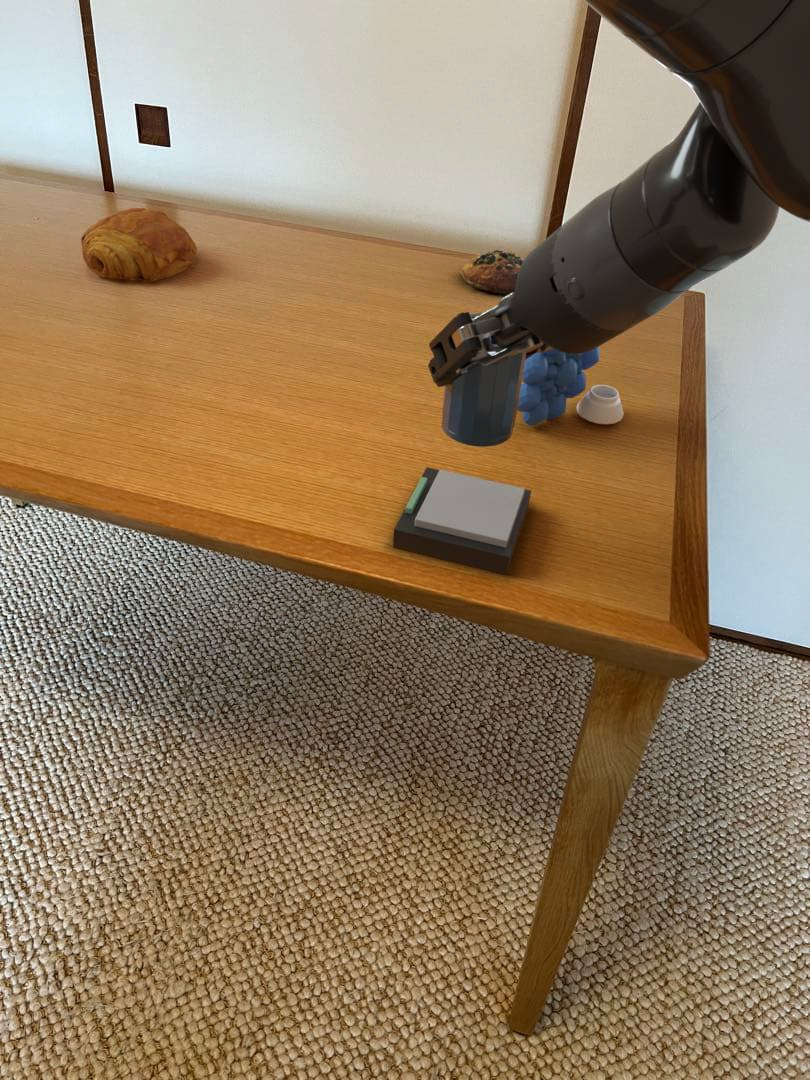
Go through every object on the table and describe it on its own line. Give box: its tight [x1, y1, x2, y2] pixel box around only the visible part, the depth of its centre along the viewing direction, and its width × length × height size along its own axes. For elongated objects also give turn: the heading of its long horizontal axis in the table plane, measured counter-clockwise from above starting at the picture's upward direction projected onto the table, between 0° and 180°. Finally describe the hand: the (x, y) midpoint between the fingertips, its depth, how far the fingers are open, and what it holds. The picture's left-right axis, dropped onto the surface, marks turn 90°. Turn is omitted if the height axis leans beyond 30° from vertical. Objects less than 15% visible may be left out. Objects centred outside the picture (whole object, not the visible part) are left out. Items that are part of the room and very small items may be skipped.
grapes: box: [517, 346, 600, 426], centre depth 85 cm, size 12×7×12 cm, turn 130°
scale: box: [392, 467, 532, 576], centre depth 72 cm, size 10×10×3 cm
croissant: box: [80, 207, 198, 283], centre depth 112 cm, size 14×16×8 cm
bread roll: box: [459, 249, 525, 296], centre depth 116 cm, size 11×11×5 cm
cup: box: [441, 312, 526, 448], centre depth 63 cm, size 6×6×8 cm
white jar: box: [576, 384, 625, 425], centre depth 88 cm, size 5×3×5 cm
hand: (470, 365), depth 64 cm, fingers closed on cup, 6 cm apart
